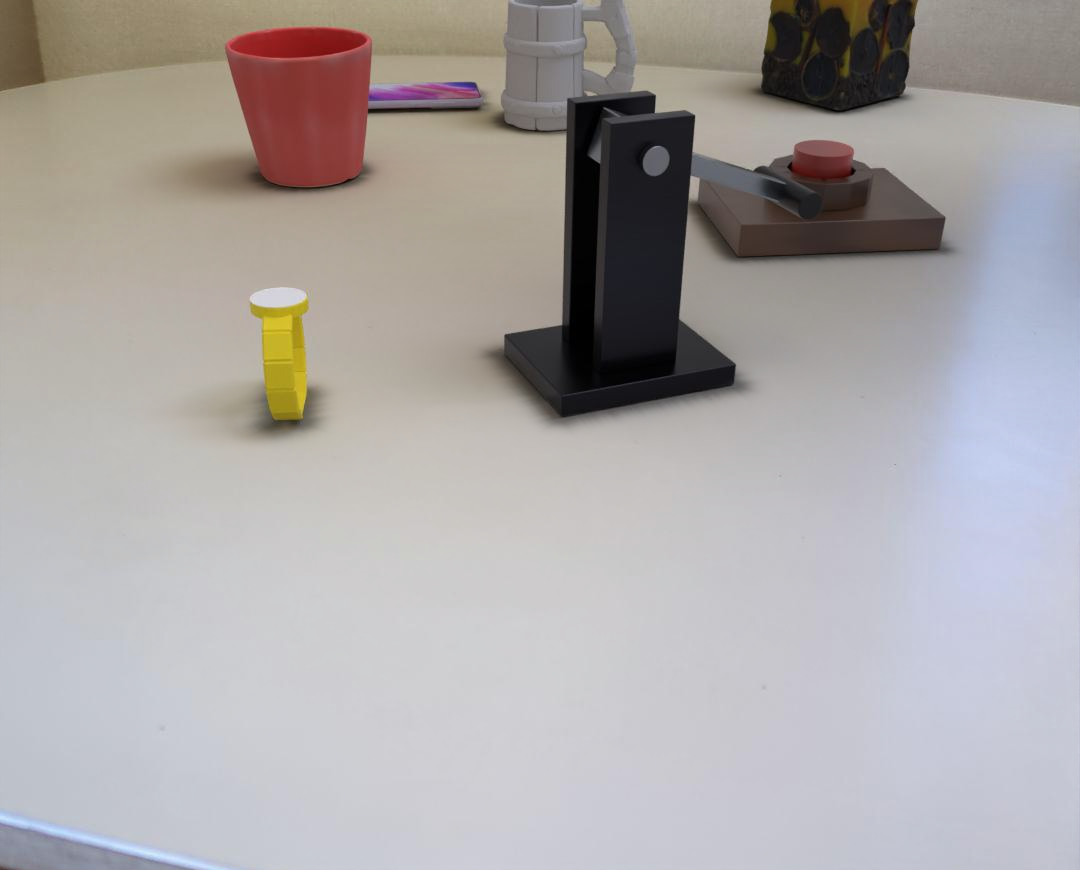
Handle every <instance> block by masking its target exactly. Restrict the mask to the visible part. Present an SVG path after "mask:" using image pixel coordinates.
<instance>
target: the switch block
mask: <svg viewBox="0 0 1080 870" xmlns="http://www.w3.org/2000/svg"><path fill="white" fill-rule="evenodd" d="M792 160H793V154H788V155H785V156H782V157H777V158H774V159H773V160H772V161H771V163H770V164H769V165H768V167H769V168H771V169H773V170H775V171H777V172H779V173H781V174H782V175H784V176H786V177H788V178H790V179H792V180H794V181H796V182H798V183H799V184H801V185H803V186H805V187H807V188H809V189H811V190H813V191H815V192H816V193H818V194H820V196H821V197H822V201H823V205H822V209H821V211H820V213H819V214H818V215H817V216H816V217H815V218H813V219H811V220H804V219H802V218H800V217H798V216H797V215H795V214H793V213H791V212H790V211H788V210H786V209H784V208H783V207H781V206H779V205H777V204H776V203H774V202H772V201H770V200H769V199H767V198H764V197H760V196H757V195H754V194H750V193H747V192H744V191H740V190H737V189H734V188H730V187H727V186H724V185H720V184H717V183H714V182H710V181H707V180H704V179H700V178H699V180H698V192H697V193H698V194H697V204H698V206H699V207H700V208H701V209H702V211H703V212H704V213H705V215H706V216H707V218H708V219H709V220H710V221H711V223H712V224H713V225H714V227H715V228H716V230H717V231H718V232H719V234H720V235H721V236H722V237H723V239H724V241H726V243H727V244H728V245H729V247H730V248H731V250H732V251H733V252H734V253H735V255H736V257H739V258H740V257H742V258H743V257H744V258H745V257H769V256H792V255H793V256H794V255H815V254H817V255H818V254H821V255H822V254H840V253H842V254H843V253H845V254H846V253H869V252H893V251H895V252H896V251H914V250H915V251H917V250H918V251H920V250H939V249H940V248H941V245H942V240H943V239H942V238H943V233H944V229H945V224H946V220H947V219H946V218H947V217H946V216H945V215H944V214H942V213H941V212H940V211H938V210H937V208H935V207H934V206H933V205H931V204H930V203H929V202H927V200H925V199H924V198H922V196H920V195H919V194H918V193H916V192H915V191H914V190H913V189H912V188H910V187H909V186H908V185H907V184H905V183H904V182H903V181H901V180H900V179H899V178H898V177H897V176H895V175H894V173H892V172H891V171H889V170H888V169H887V168H885V167H870V166H869V165H868V164H866V163H865V162H863V161H859V160H855V159H853V162H852V169H851V175H850V176H848V177H844V178H834V179H820V178H813V177H805V176H802V175H799V174H796V173H793V172H791V168H792Z"/></svg>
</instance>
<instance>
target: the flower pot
mask: <svg viewBox="0 0 1080 870" xmlns="http://www.w3.org/2000/svg"><path fill="white" fill-rule="evenodd" d="M224 50H225V55H226V59H227V64H228V67H229V70H230V75H231V77H232V81H233V84H234V87H235V91H236V95H237V98H238V101H239V105H240V107H241V112H242V115H243V118H244V121H245V122H244V123H245V125H246V127H247V131H248V134H249V138H250V141H251V144H252V148H253V151H254V154H255V158H256V161H257V164H258V166H259V170H260V173H261V176H262V177H263V178H264V179H265V180H266V181H268V182H270V183H272V184H275V185H277V186H278V185H279V186H285V187H293V188H317V187H327V186H333V185H337V184H341V183H344V182H346V181H347V180H348V179H349V180H351V179H354V178H356V177H357V176H359V175H360V173H361V172H362V170H363V164H364V155H365V148H366V147H365V146H366V136H367V127H368V125H367V124H368V116H369V115H368V113H369V109H368V102H369V88H370V84H371V71H372V70H371V69H372V54H373V53H372V51H373V41H372V38H371V37H370V35H368V34H367V33H365V32H362V31H360V30H359V31H358V30H354V29H350V28H342V27H334V26H333V27H331V26H292V27H278V28H277V27H276V28H269V29H261V30H256V31H251V32H245V33H243V34H239V35H237V36H234V37H232V38H230V39H229V40H227V42H226V43H225V45H224Z"/></svg>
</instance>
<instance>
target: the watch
mask: <svg viewBox="0 0 1080 870" xmlns="http://www.w3.org/2000/svg"><path fill="white" fill-rule="evenodd" d="M249 309H250V313H251V315H252V316H254V317H256V318H258V319H261V348H262V349H261V350H262V351H261V353H262V361H263V363H262V367H263V377H264V386H265V394H266V398H267V404H268V409H269V411H270V414H271V417H272V418H273V420H275V421H289V420H291V421H293V420H302V419H304V416H303V413H304V408H305V404H306V399H307V396H308V391H307V390H308V389H307V388H308V385H307V384H308V380H307V379H308V378H307V377H308V376H307V375H308V373H307V372H308V371H307V355H306V352H307V351H306V347H305V346H306V341H305V332H304V331H305V330H304V323H303V317H302V316H303V315H304V314H306V313H307V312H308V311H309V309H310V305H309V297H308V294H307V293H306V292H305V291H303V290H301V289H299V288H294V287H287V286H286V287H284V286H283V287H280V286H279V287H270V288H264V289H262V290H258V291H255V292H254V293H252V294H251V295H250V297H249Z"/></svg>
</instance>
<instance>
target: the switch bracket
mask: <svg viewBox="0 0 1080 870" xmlns="http://www.w3.org/2000/svg"><path fill="white" fill-rule="evenodd" d="M656 102H657V95H656V94H655V93H653V92H652V91H649V90H638V91H637V90H635V91H631V92H625V93H615V94H604V95H597V94H595V95H588V96H583V97H573V98H567V129H565V131H566V132H565V135H566V136H565V174H564V176H565V177H564V178H565V179H564V181H565V183H564V218H563V219H564V222H563V223H564V224H563V231H564V232H563V262H562V263H563V267H562V268H563V269H562V307H561V308H562V311H561V324H558V325H553V326H547V327H541V328H535V329H528V330H522V331H518V332H517V331H516V332H510V333H504V336H503V352H504V355H505V356H506V357H507V358H508V359H509V360H510V362H511V363H512V364H513V365H514V366H515V367H516V369H518V370H519V371H520V373H522V375H523V376H524V377H525V378H526V379H527V381H528V382H530V384H531V385H532V386H533V387H534V388H535V389H536V390H537V391H538V392H539V394H540V395H541V396H542V397H543V398H544V399H545V400H546V401H547V403H549V404H550V405H551V406H552V408H553V409H554V410H555V411H556V412H557V413H558V414H559V415H560V416H561V417H567V416H572V415H573V416H574V415H578V414H583V413H588V412H594V411H599V410H604V409H610V408H615V407H621V406H626V405H630V404H636V403H641V402H646V401H652V400H657V399H663V398H667V397H673V396H677V395H683V394H689V393H695V392H699V391H705V390H709V389H715V388H721V387H725V386H731V385H734V384H735V380H736V379H735V378H736V370H737V364H736V363H735V362H734V361H732V359H730V358H729V357H728V356H727V355H725V354H724V353H723V352H721V351H720V350H719V349H718V348H716V347H715V346H714V345H713V344H712V343H710V342H709V341H708V340H706V339H705V338H704V337H703V336H701V335H700V334H699V333H698V332H696V331H695V330H694V329H693V328H691V327H690V326H689V325H687V323H685V322H684V321H682V320H681V319H680V313H681V299H682V288H683V275H684V262H685V251H686V250H685V249H686V237H687V226H688V212H689V203H690V202H689V200H690V189H691V177H692V176H691V165H692V152H694V151H693V150H694V139H695V127H696V114H694V113H692V112H690V111H689V110H686V109H681V110H672V111H671V110H670V111H663V112H656V105H657V104H656ZM603 107H606V108H609V109H612V110H615V111H618V112H621V113H624V114H628V115H631V116H622V117H613V118H603V119H602V135H601V160H600V164H599V163H598V162H596V161H595V160H593V159H592V158H590V157H589V156H587V153H588V150H589V147H590V144H591V141H592V138H593V135H594V132H595V130H596V127H597V124H598V121H599V118H600V115H601V112H602V109H603Z"/></svg>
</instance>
